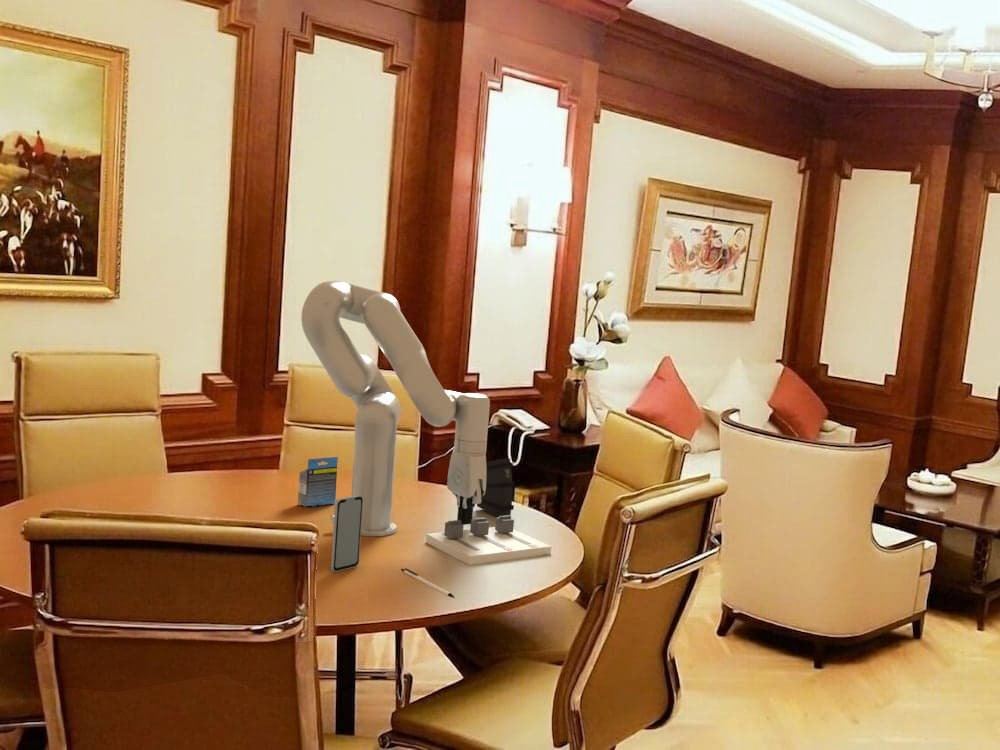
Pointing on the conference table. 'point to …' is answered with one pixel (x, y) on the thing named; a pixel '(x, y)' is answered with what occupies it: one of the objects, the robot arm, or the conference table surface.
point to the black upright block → (498, 488)
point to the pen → (426, 582)
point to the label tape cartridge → (318, 482)
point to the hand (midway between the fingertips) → (464, 523)
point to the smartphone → (346, 533)
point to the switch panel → (488, 546)
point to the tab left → (454, 529)
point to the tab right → (504, 524)
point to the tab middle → (479, 526)
